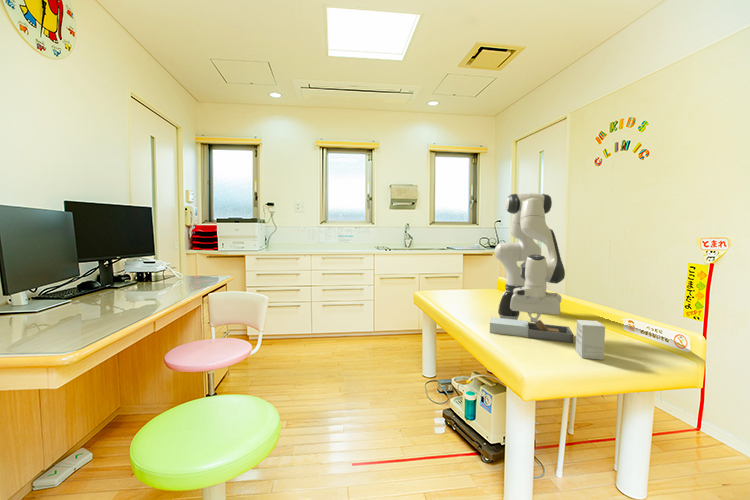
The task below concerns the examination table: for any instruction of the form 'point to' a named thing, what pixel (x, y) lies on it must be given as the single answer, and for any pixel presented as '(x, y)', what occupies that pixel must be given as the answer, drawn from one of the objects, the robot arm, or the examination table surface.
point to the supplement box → (590, 339)
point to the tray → (551, 333)
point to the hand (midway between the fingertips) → (533, 322)
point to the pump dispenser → (507, 307)
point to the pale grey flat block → (509, 326)
